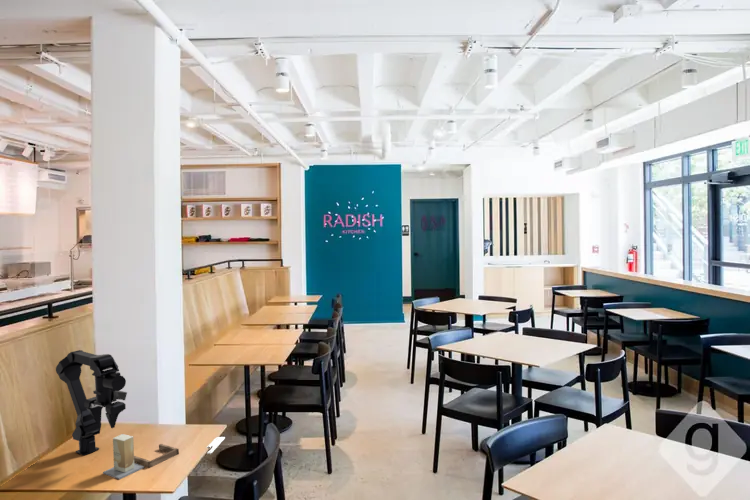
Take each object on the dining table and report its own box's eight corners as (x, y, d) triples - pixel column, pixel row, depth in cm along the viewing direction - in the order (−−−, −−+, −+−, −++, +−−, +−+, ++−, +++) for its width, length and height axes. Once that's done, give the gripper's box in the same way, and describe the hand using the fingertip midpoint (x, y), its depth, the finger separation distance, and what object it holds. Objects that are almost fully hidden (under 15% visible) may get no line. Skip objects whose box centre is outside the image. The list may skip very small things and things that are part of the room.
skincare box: (113, 470, 186) (111, 437, 186) (123, 464, 190) (121, 433, 189) (125, 473, 183) (123, 440, 183) (135, 467, 187) (133, 435, 187)
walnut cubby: (132, 461, 194) (131, 456, 194) (161, 448, 205) (160, 443, 205) (149, 467, 188) (149, 462, 188) (178, 453, 200) (178, 448, 199)
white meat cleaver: (198, 454, 199) (198, 451, 199) (214, 439, 214) (214, 436, 214) (211, 454, 199) (210, 451, 199) (225, 439, 214) (225, 436, 214)
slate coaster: (103, 473, 185) (103, 471, 185) (128, 462, 193) (128, 460, 193) (119, 479, 180) (119, 477, 180) (144, 467, 188) (144, 466, 188)
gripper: (137, 384, 199) (139, 422, 199) (109, 378, 208) (111, 415, 209) (110, 392, 189) (112, 433, 190) (82, 386, 199) (84, 424, 199)
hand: (105, 425), depth 197 cm, fingers open, 9 cm apart
